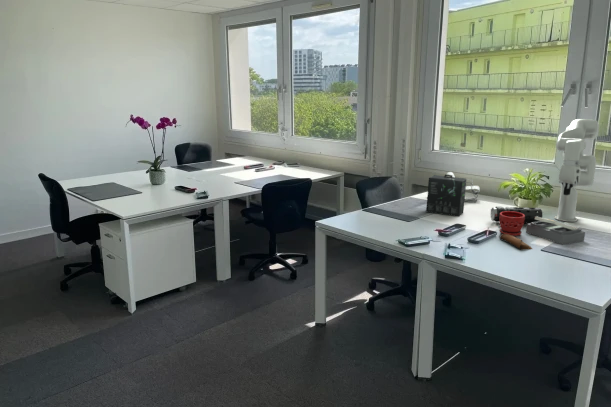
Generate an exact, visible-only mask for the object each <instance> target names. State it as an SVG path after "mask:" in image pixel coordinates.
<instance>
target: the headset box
mask: <svg viewBox="0 0 611 407" xmlns="http://www.w3.org/2000/svg"><path fill="white" fill-rule="evenodd" d="M446 174H447V173H446ZM446 174H444V175H437V174H434V175H432V176H430V177H428V182H427V198H426V209H425V212H426V211H428V212H427V213H432V212H433V214H440V215H445V216H452V217H457V218H459V217H460V216H462V215H463V213H464V208H465V202H464V201H466V200H465V199H466V198H465V197H466V186H467V183H466V182H467V180H466V179H467V178H466V177H465V178H464V177H456V176H455V177H452V175H446Z"/></svg>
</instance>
